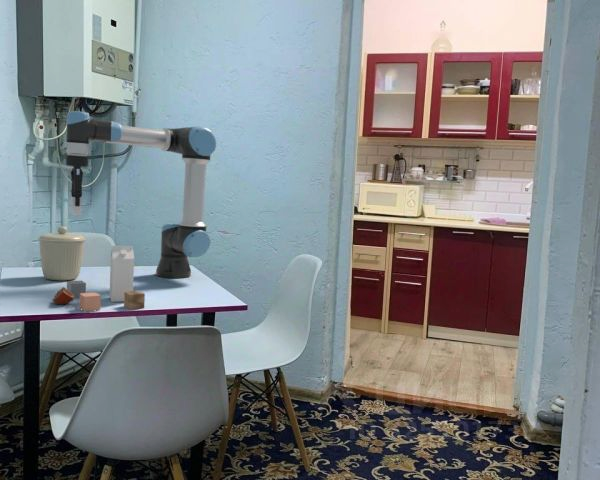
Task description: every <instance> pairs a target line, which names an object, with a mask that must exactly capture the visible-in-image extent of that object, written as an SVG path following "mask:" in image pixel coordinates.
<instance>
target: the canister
mask: <svg viewBox="0 0 600 480" xmlns="http://www.w3.org/2000/svg"><path fill="white" fill-rule="evenodd" d="M36 238H37V240H38V243H39V254H40V263H41V270H42V275H43V277H44V278H45V279H47V280H49V281H64V282H65V281H74V280H75V279H77V278H78V277H79V275H80V273H81V269H82V262H83V255H84V254H83V253H84V248H85V242H86V241H87V238H86V237H84V236H83V235H81V234H78V233H72V232H71V233H69V232H68V228H67V227H66V226H63V225H61V226H59V227H58V228H57V232H49V233H48V232H47V233H43V234H41V235H40V236H38V237H36Z"/></svg>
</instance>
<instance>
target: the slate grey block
mask: <svg viewBox="0 0 600 480" xmlns="http://www.w3.org/2000/svg"><path fill="white" fill-rule="evenodd" d="M66 289H67V290H68V291H69V292H71V293H72V294H73V295H74V297H76V298H80V293H87V292H86V291H87V282H85V281H83V280H66Z"/></svg>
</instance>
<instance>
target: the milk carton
mask: <svg viewBox="0 0 600 480" xmlns="http://www.w3.org/2000/svg"><path fill="white" fill-rule="evenodd" d="M134 253H135V252H134V246H133V245H111V253H110V270H109V300H110V301H111V302H113V303H114V302H119V303H120V302H124V293H125V292H128V291H134V279H135V278H134V274H135V273H134V272H135V271H134V270H135V254H134Z"/></svg>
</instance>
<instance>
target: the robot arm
mask: <svg viewBox="0 0 600 480" xmlns="http://www.w3.org/2000/svg"><path fill="white" fill-rule="evenodd" d="M66 115H67V116H66V144H65V145H64V148H65V151H66V154H67V155H65V165H66V166H68V167H72V169H71V171H70V182H71V189H70V190H71V191H70V194H71V195H70V196H71V199H70V212H71V213H72V216H75V217H76V216H77V217H81V216H82V200H83V199H82V196H83V189H82V188H83V177H84V172H83V169H82V168H81V167H83V168H85V167H89V157H88V155H89V154H90V153H89V152H90V143H92V142H95V143H104V144H105V143H107V144H117V145H126V146H135V147H137V146H138V147H147V148H153V149H154V148H155V149H160V150H161V151H163V152H171V153H175V154H180V155H181V159H182V161H183V162H184V163H185V167H184V182H183V183H184V185H183V202H182V204H183V205H182V220H181V221H180V222H179V223H165V224H163V225H162V227H161V232H160V233H161V238H160V239H161V240H160V241H161V245H160V259H159V261H158V264H157V267H156V269H155V276H156V277H161V278H169V279H184V277H185V278H188V277H189V276H190V277H191V276H192V275H191V274H192V271H191V267H190V263H189V259H188V257H189V258H199V257H202V256H204V255H205V254H206V253H207V252H208V250H209V249H210V247H211V237H210V235H209V234H208V232H207V224H205V222H204V212H205V211H204V209H205V208H204V207H205V189H206V178H207V173H206V172H207V165H208V163H209V162H211V155H212V154H213V153H214V152H215V150H216V149H217V139H216V138H217V137H215V135H214V133H213V131H212V130H210V128H207V127H204V126H203V127H202V126H192V127H187V126H186V127H178V128H167V127H164V128H162V129H156V128H155V129H154V128H146V127H138V126H130V125H129V126H128V125H122V124H121V123H120V122H117V121H116V122H115V121H114V120H113V121H111V120H102V119H101V120H100V119H94V118H91V116H90V113H89V112H85V111H76V110H74V111H73V110H70V111H68V112H67V114H66ZM190 277H189V278H190Z"/></svg>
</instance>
